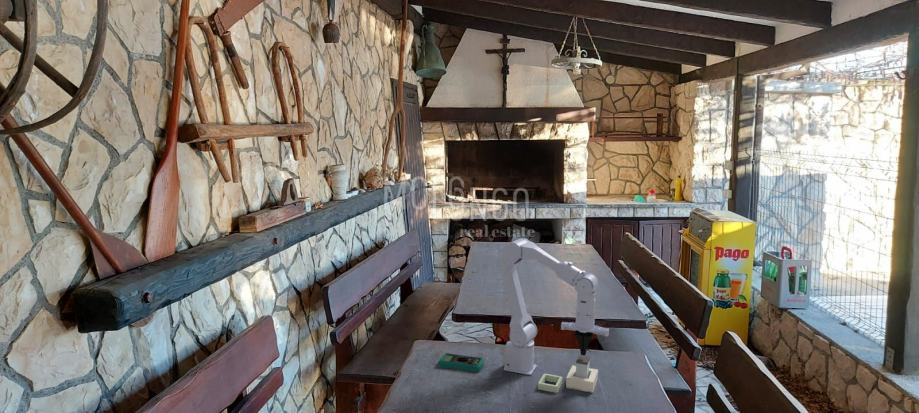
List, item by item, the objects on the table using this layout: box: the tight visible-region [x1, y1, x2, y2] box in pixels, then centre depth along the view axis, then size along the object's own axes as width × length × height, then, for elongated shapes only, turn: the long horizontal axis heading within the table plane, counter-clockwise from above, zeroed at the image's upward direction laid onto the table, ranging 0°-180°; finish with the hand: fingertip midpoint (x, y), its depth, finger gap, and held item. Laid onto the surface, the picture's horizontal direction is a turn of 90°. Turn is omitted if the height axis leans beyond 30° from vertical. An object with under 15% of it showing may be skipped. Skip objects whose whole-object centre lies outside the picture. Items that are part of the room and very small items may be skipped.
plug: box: [575, 354, 591, 379], centre depth 179 cm, size 4×5×8 cm
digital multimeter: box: [438, 352, 485, 373], centre depth 192 cm, size 7×15×3 cm, turn 74°
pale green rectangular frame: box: [537, 373, 564, 394], centre depth 178 cm, size 6×8×2 cm
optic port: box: [565, 364, 599, 394], centre depth 180 cm, size 8×10×4 cm
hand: (583, 354), depth 178 cm, fingers closed
